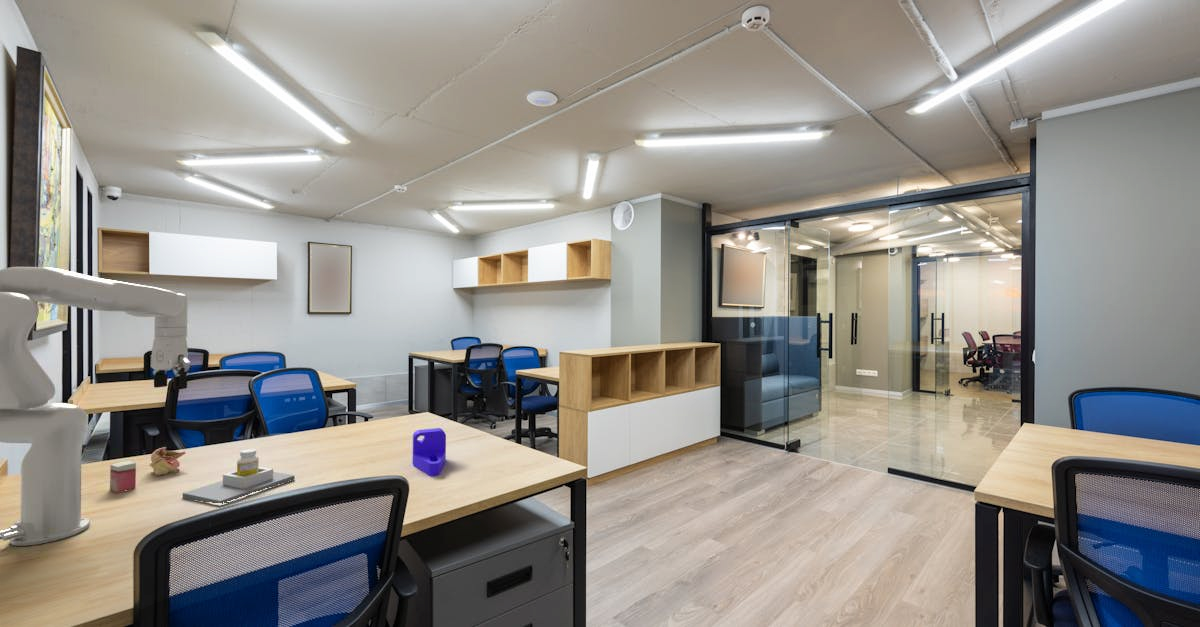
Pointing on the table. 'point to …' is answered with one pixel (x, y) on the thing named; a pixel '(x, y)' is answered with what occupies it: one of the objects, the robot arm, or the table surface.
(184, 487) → the table surface
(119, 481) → the small box
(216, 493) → the socket holder
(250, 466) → the supplement bottle
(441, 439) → the bracket
